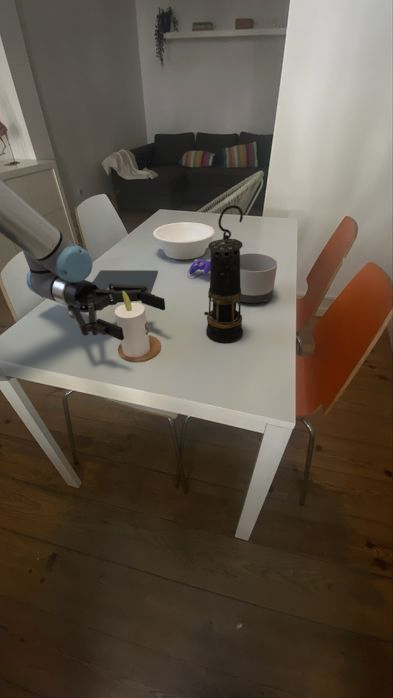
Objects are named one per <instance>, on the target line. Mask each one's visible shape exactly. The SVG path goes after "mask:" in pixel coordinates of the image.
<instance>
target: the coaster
mask: <svg viewBox="0 0 393 698" xmlns="http://www.w3.org/2000/svg"><path fill="white" fill-rule="evenodd" d="M148 336H149V343H150V350H149V352H148V353H147V354H145V355H144V356H141V357H136V358H132V357H128V356H126V355H125V354H124V353H123V349H122V345H121V343H120V344H119V345H118V347H117V352H118V355H119V357H120V358H121V359H123V360H124V361H127V362H130V363H143V362H147V361H150V360H152V359H153V358H155V357H156V356H157V355H159V354H160V352H161V349H162V344H161V342H160V340H159V339H158V338H157V337H155V336H153V335H149V334H148Z"/></svg>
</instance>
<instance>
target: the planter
mask: <svg viewBox="0 0 393 698" xmlns="http://www.w3.org/2000/svg"><path fill="white" fill-rule="evenodd" d="M277 269H278V261H277V260H276V258H274V257H272V256H270V255H267V254H263V253H257V252H256V253H255V252H253V253H252V252H250V253H249V252H248V253H247V252H246V253H240V288H241V299H240V302H242V303H247V304H258V303H263V302H267V301H268V300H270V299H271V298H272V297H273V295H274V290H275V282H276V278H277V277H276V276H277Z"/></svg>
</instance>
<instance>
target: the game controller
mask: <svg viewBox="0 0 393 698" xmlns="http://www.w3.org/2000/svg"><path fill="white" fill-rule="evenodd" d="M210 266H211V258H207V259H206V258H205V259H198V258H195V259H194V261H193V262H192V264H191V265H190V267H189V269H188V275H194V274H195V273H196V272H197V271H203V273H201V274H200V275H198V276H196V277H193V278H192V280H194V279H196V278H199V277H200V276H202V275H208V274H210ZM187 278H188V279H189V280H191V278H190V277H189V276H187Z"/></svg>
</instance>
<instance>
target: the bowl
mask: <svg viewBox="0 0 393 698" xmlns="http://www.w3.org/2000/svg"><path fill="white" fill-rule="evenodd" d="M152 233H153V234H152V235H153V237H154V240H155V241H156V244H157V246H158V247H159V248H160V249H161V250H163V253H164V255H165V256H167V257H168V258H170V259H175V260H192V259H198V258H200V257H202V256H203V255H204V254H205V253H206V250H207V248H209V247H208V245H209V244H210V243H211V242H213V240H214V237H215V236H214V235H215V233H216V230H215V228H213V227H212V226H210V225H208V224H205V223H200V222H191V221H190V222H189V221H181V222H172V223H167V224H164V225H160V226H159V227H156V228H155V229H154V231H153V232H152Z"/></svg>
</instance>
